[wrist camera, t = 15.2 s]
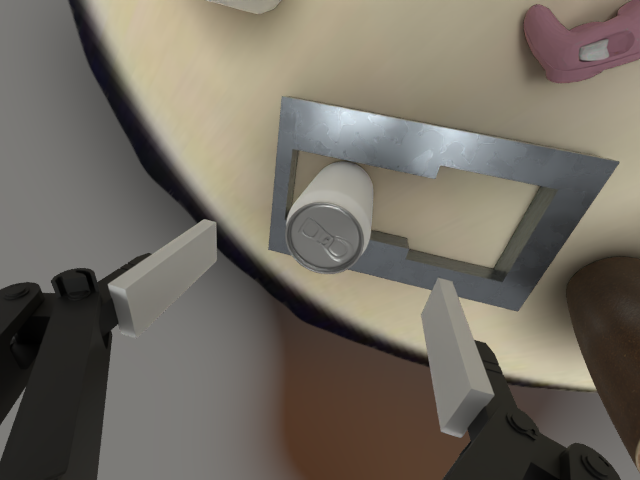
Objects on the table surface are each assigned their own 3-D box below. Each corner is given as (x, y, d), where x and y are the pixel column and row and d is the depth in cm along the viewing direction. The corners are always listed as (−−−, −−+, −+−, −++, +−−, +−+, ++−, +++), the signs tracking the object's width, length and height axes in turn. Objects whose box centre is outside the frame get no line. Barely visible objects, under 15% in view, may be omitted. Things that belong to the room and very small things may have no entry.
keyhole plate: (598, 156, 24) (619, 161, 22) (508, 296, 32) (518, 311, 30) (289, 96, 27) (281, 96, 24) (275, 240, 34) (268, 249, 32)
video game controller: (515, 68, 24) (561, 107, 19) (517, 7, 21) (573, 37, 16) (667, -2, 20) (765, 26, 16) (698, -87, 17) (832, -82, 13)
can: (349, 229, 32) (334, 293, 21) (303, 196, 31) (263, 246, 20) (386, 184, 29) (390, 234, 18) (336, 147, 28) (309, 176, 17)
